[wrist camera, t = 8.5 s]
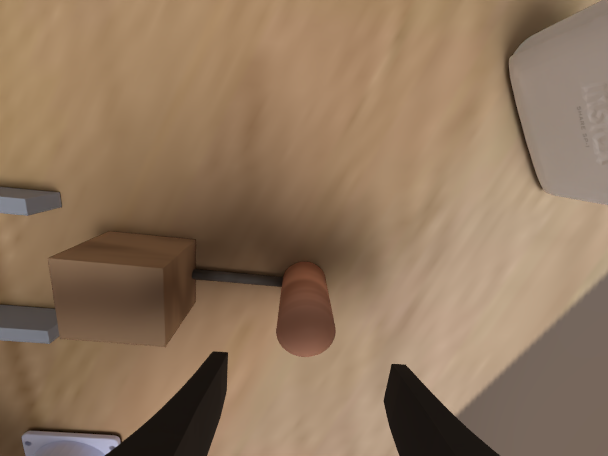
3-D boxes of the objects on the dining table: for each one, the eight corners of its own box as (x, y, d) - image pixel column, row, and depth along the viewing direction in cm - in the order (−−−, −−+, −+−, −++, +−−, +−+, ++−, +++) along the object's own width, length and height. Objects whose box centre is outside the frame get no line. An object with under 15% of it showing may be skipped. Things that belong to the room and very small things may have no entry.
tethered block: (321, 312, 22) (329, 372, 16) (114, 295, 21) (44, 350, 15) (329, 252, 20) (341, 293, 15) (109, 231, 20) (30, 265, 14)
